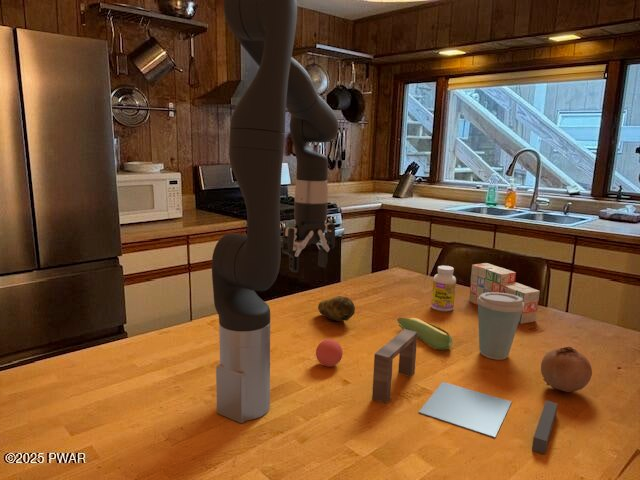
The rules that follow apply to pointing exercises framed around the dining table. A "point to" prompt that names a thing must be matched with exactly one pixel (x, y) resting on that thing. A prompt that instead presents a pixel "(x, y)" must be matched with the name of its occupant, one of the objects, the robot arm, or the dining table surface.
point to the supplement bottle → (443, 289)
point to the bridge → (384, 359)
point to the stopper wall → (544, 427)
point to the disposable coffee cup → (498, 323)
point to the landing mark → (467, 409)
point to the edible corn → (427, 333)
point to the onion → (566, 369)
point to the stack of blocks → (503, 288)
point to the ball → (329, 352)
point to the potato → (337, 308)
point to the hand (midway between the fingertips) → (308, 269)
